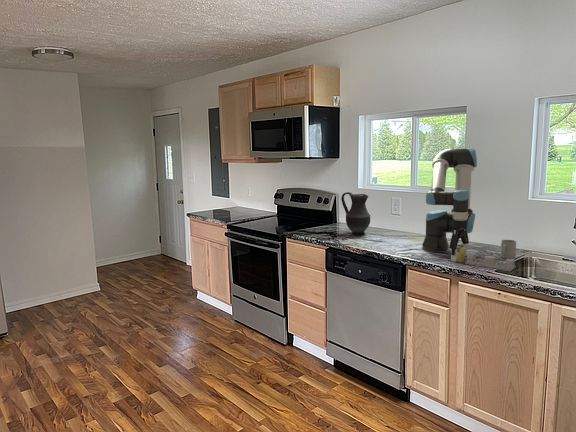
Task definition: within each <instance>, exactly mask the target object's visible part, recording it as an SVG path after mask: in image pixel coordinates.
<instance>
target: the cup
mask: <svg viewBox="0 0 576 432" xmlns="http://www.w3.org/2000/svg"><path fill="white" fill-rule="evenodd" d="M500 245H501V246H500V257H501V258H503V259H506V260H507V259H515V258H516V252H517V241H516V240H514V239H502V240H501V242H500Z"/></svg>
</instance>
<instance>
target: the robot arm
mask: <svg viewBox="0 0 576 432" xmlns="http://www.w3.org/2000/svg"><path fill="white" fill-rule="evenodd" d="M476 151H477V150H476V149H475V148H469V147H466V148H446V149H444V150H441V151H440V152H439V153H437V154H436V155H435V157H434V158H433V161H432V164H431V166H432V169H433V171H432V178H431V186H430V191H427V192H426V193H425V203H426V205H429V206H430V205H431V206H452V209H451V210H450V212H448V211H447V210H446V209H436V210H431V211H428V212H427V213H426V215H425V236H424V240H423V241H422V242H423V243H422V246H421V248H422V250H424V251H425V252H430V253H431V252H432V253H443V252H448V251H450V261H451V262H458V261H457V249H456V248H457V245H459V241H460V240H461V245H462V246H465V257H467V254H468V252H467V247H468V246H467V245H468V244H469V243H470V242H469V241H470V240H469V234H471V233H473V231H474V230H473V229H474V226H475V219H476V213H474V210H473V209H472V208H471V193H472V192H471V190H472V189H471V188H472V187H471V186H472V172H474V171H475V168H477V166H478V159H477V152H476ZM449 168H453V171H454V172H455V182H454V191H446V182H447V181H446V180H447V172H448V170H449ZM447 233H448V234H449V233H450V234H451V233H452V234H451V239H450V244H449V241H448V238H447Z"/></svg>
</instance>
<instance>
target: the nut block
mask: <svg viewBox="0 0 576 432" xmlns="http://www.w3.org/2000/svg"><path fill="white" fill-rule="evenodd" d="M456 249H457V261H456V262H458V261H459V262H458V263H462V262H464V261H465V257H466V256H465V246H462V245H460V244H457V248H456Z"/></svg>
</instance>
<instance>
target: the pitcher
mask: <svg viewBox="0 0 576 432" xmlns="http://www.w3.org/2000/svg"><path fill="white" fill-rule="evenodd" d="M346 195H349V197H350V200H351V206H350V208H348V206H347V203H346V201H345V196H346ZM368 198H369V195H367V194H365V193H352V192H350V191H346V192H344V193H342V195H341V199H340V200H341V204H342V206H343V208H344V211H345V222H346V223H345V224H346V226H347V228H348V229H349V230H350V231H351V236H354V237H355V236H356V237H361V236H365V235H366V233H365V231H366V230H367V229H368V228H369V227H370V224H371V215H370V213H369V211H368V209H367V205H366V202H367V200H368Z"/></svg>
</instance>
